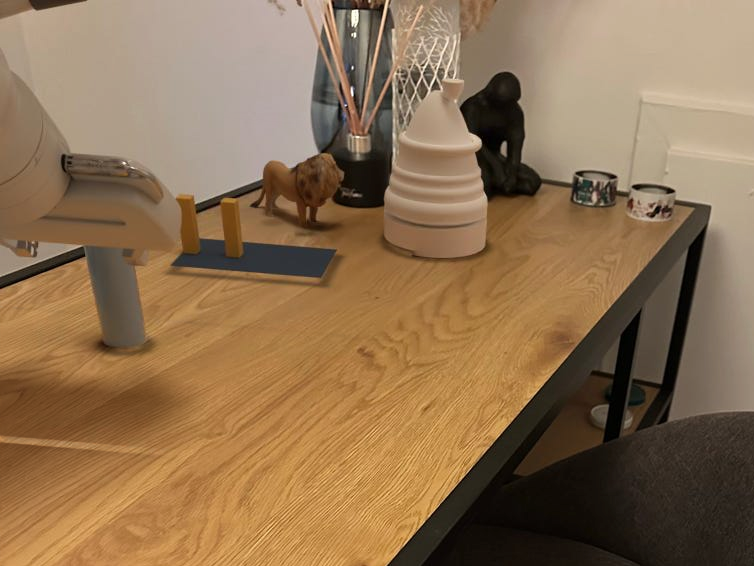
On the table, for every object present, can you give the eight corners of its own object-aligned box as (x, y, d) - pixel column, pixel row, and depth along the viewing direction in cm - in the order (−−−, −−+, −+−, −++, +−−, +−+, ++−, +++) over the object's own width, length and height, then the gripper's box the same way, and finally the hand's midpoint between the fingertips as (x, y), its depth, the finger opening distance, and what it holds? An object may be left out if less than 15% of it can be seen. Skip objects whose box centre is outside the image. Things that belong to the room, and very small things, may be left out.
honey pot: (505, 242, 120) (517, 81, 108) (442, 265, 112) (448, 93, 100) (427, 219, 125) (431, 63, 114) (362, 239, 117) (359, 74, 106)
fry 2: (226, 256, 108) (220, 201, 104) (229, 252, 109) (223, 197, 105) (240, 258, 108) (234, 202, 104) (243, 253, 109) (238, 198, 105)
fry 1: (183, 253, 108) (175, 197, 104) (187, 249, 109) (179, 193, 105) (196, 254, 108) (189, 198, 104) (200, 250, 109) (193, 195, 105)
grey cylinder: (97, 348, 88) (73, 238, 82) (112, 332, 91) (91, 224, 85) (139, 352, 88) (119, 242, 82) (153, 336, 91) (135, 228, 85)
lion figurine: (352, 229, 120) (349, 152, 114) (326, 239, 116) (322, 160, 111) (263, 206, 125) (257, 132, 120) (236, 215, 122) (228, 138, 116)
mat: (170, 270, 105) (169, 265, 105) (196, 242, 113) (196, 237, 112) (321, 283, 105) (321, 277, 104) (337, 254, 112) (337, 249, 112)
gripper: (152, 123, 66) (210, 227, 79) (-135, 101, 66) (-28, 209, 80) (141, 208, 65) (201, 298, 79) (-148, 186, 65) (-38, 279, 79)
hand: (84, 253), depth 79 cm, fingers open, 8 cm apart
